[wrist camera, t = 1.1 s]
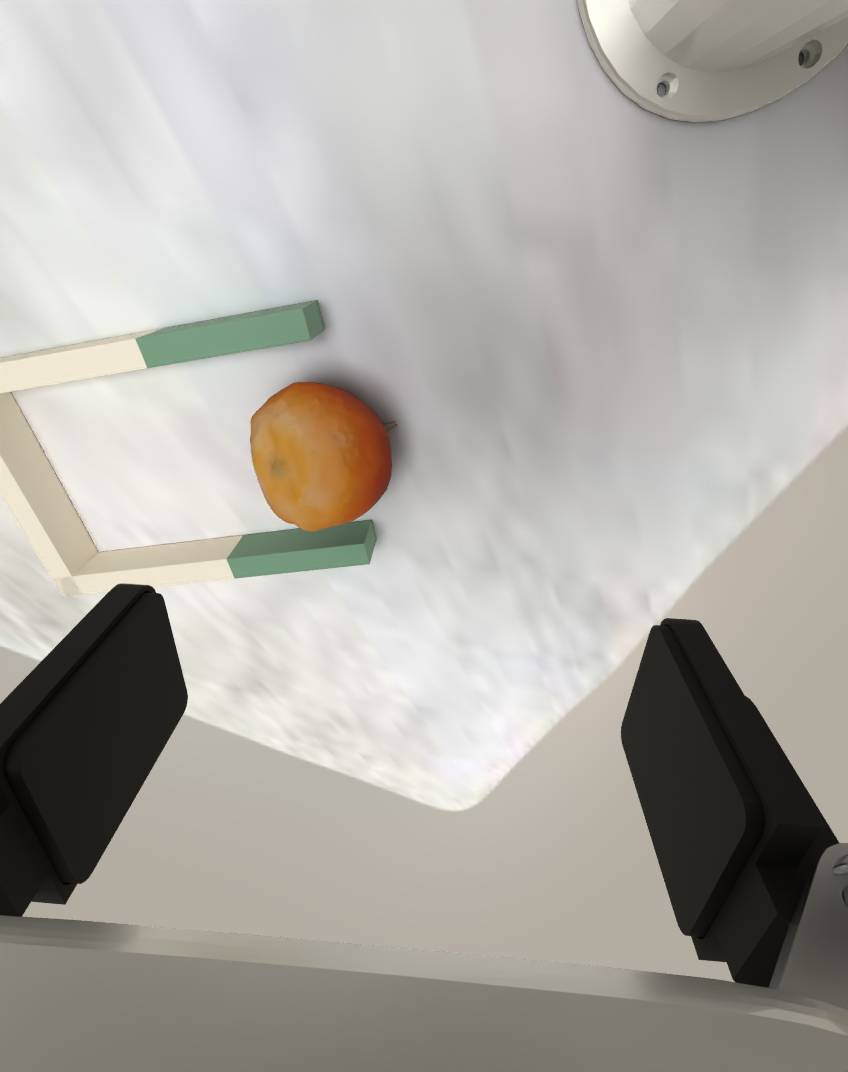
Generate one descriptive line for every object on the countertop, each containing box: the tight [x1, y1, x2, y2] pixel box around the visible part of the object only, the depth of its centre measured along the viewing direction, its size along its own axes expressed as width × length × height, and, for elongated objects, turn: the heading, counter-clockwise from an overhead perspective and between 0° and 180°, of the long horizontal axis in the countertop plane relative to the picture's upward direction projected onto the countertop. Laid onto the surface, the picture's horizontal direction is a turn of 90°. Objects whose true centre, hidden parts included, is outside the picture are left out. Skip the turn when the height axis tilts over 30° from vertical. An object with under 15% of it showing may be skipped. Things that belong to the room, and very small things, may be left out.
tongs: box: [0, 300, 376, 597], centre depth 28 cm, size 26×15×15 cm, turn 100°
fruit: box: [250, 382, 397, 532], centre depth 31 cm, size 8×8×8 cm
